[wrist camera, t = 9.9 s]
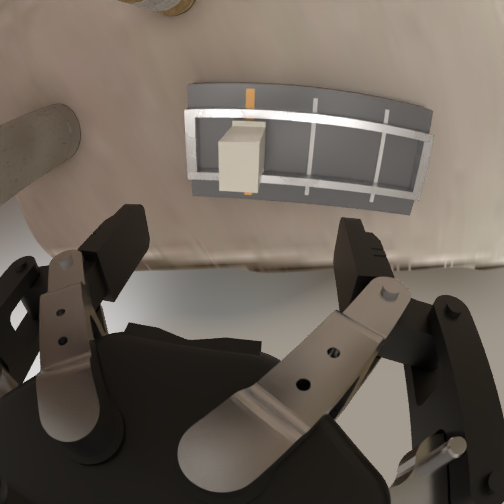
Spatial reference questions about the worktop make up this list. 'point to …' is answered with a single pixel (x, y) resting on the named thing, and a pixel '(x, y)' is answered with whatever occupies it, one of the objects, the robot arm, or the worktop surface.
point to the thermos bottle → (35, 146)
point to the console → (314, 144)
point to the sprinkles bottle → (163, 5)
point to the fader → (242, 156)
